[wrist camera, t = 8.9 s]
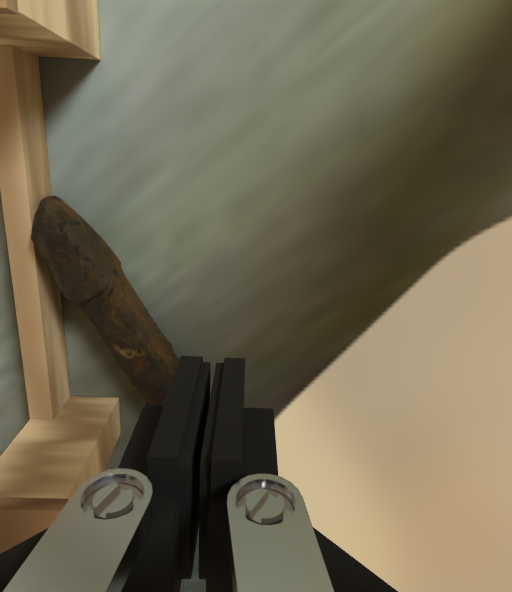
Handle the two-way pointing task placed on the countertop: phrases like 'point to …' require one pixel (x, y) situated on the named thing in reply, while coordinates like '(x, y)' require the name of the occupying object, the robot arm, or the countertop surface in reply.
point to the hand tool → (104, 296)
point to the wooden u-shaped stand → (42, 279)
